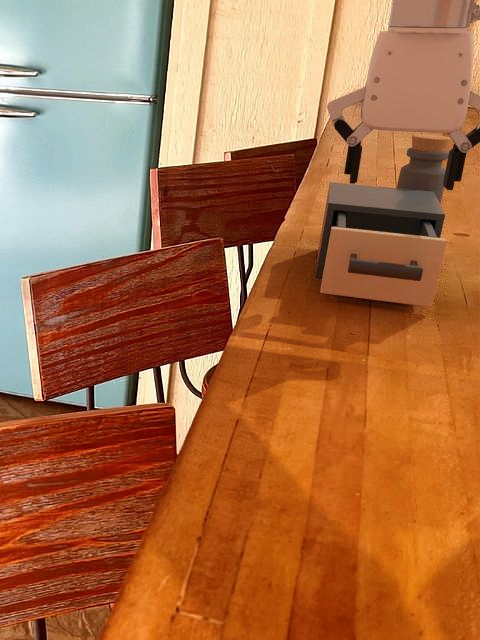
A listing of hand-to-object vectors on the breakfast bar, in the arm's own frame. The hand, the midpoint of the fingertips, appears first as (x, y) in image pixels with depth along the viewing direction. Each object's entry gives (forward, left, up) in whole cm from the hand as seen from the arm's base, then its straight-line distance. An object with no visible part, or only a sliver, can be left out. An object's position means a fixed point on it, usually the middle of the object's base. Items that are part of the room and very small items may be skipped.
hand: (399, 184), depth 97 cm
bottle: (-9, -25, -13) cm, 30 cm away
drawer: (+1, +2, -12) cm, 12 cm away
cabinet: (-1, -11, -13) cm, 17 cm away
